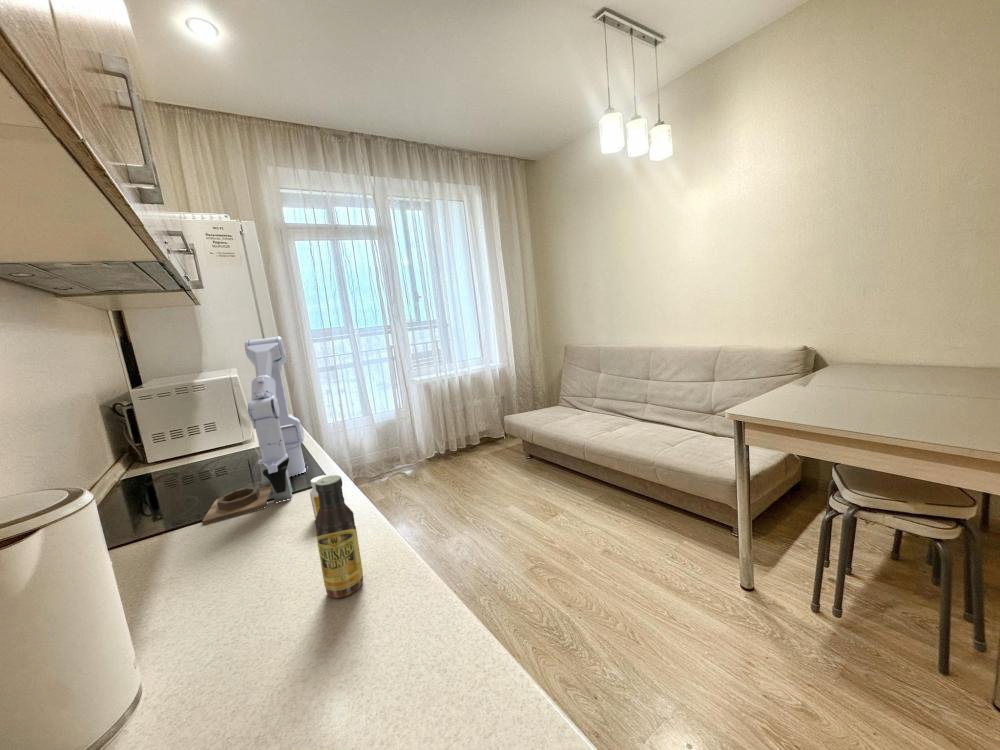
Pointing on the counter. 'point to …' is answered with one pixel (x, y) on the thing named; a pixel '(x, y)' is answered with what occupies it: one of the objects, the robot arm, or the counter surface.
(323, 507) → the sauce bottle
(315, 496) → the supplement bottle
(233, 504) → the holder board
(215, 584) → the counter surface
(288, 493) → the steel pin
